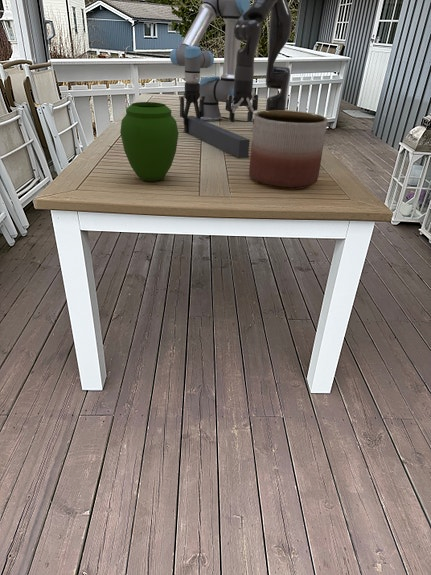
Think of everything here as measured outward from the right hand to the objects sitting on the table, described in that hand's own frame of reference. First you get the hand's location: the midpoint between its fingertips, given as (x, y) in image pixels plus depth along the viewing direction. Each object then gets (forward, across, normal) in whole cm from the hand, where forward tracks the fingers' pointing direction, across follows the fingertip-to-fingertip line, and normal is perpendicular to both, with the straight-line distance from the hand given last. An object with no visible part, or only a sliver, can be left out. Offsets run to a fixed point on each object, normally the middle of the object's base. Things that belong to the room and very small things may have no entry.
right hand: (240, 121), depth 172 cm
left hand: (+13, 0, +48) cm, 50 cm away
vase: (+14, -47, -18) cm, 53 cm away
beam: (+14, 0, +24) cm, 28 cm away
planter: (+14, -2, -36) cm, 39 cm away
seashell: (+14, +41, +45) cm, 62 cm away
